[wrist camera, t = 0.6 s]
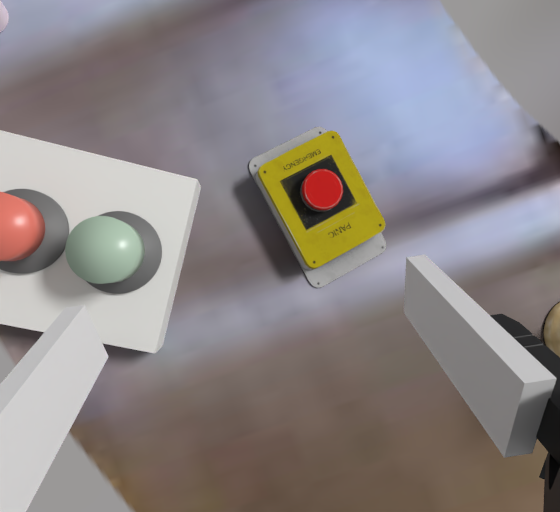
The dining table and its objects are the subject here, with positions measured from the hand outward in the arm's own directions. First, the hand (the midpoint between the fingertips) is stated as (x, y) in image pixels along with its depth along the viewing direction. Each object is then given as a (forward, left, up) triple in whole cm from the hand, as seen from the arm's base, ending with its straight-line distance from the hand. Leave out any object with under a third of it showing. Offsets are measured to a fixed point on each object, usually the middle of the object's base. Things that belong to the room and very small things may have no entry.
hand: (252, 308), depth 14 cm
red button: (+1, +19, -15) cm, 25 cm away
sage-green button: (+1, +11, -15) cm, 19 cm away
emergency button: (+10, -6, -21) cm, 24 cm away
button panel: (+1, +19, -20) cm, 28 cm away
